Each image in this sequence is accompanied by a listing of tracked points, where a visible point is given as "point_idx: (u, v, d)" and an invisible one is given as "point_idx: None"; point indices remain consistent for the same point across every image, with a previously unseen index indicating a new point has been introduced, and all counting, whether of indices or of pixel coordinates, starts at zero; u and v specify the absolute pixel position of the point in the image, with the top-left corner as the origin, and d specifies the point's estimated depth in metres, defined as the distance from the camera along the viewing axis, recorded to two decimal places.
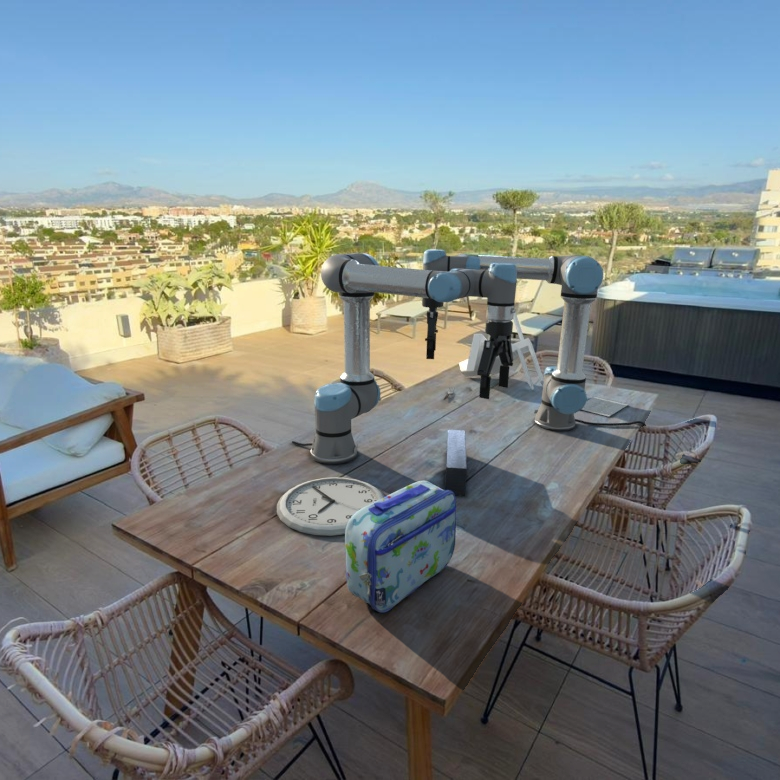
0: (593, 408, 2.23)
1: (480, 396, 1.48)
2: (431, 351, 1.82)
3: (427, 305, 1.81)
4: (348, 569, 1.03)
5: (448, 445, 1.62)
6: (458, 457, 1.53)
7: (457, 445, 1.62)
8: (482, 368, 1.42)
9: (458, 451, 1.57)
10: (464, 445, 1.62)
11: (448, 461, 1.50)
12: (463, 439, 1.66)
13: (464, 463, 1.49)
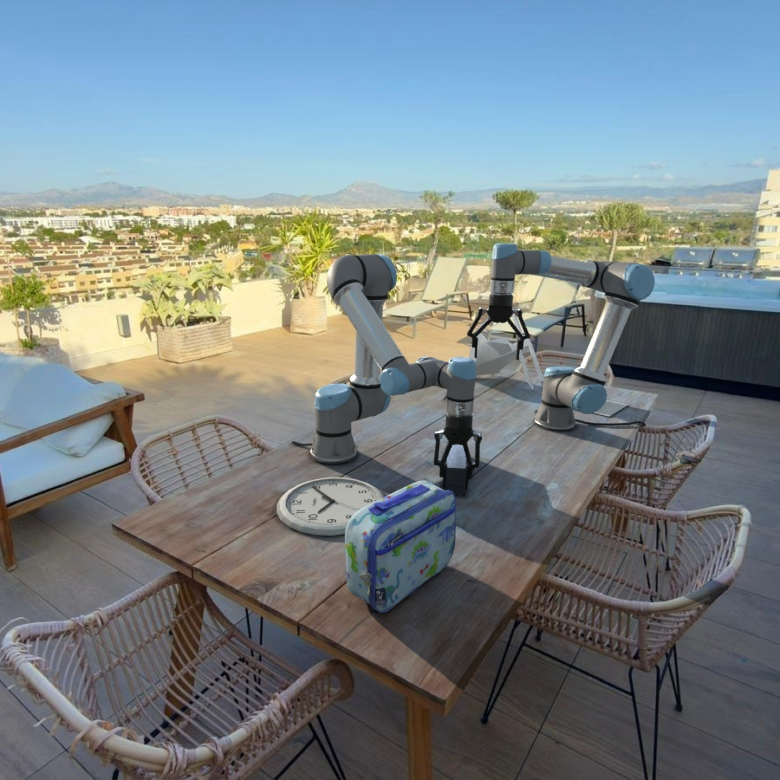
0: None
1: None
2: None
3: (511, 304, 1.66)
4: (348, 569, 1.03)
5: None
6: (458, 457, 1.53)
7: (457, 445, 1.62)
8: None
9: (458, 451, 1.57)
10: None
11: (448, 461, 1.50)
12: None
13: (464, 463, 1.49)
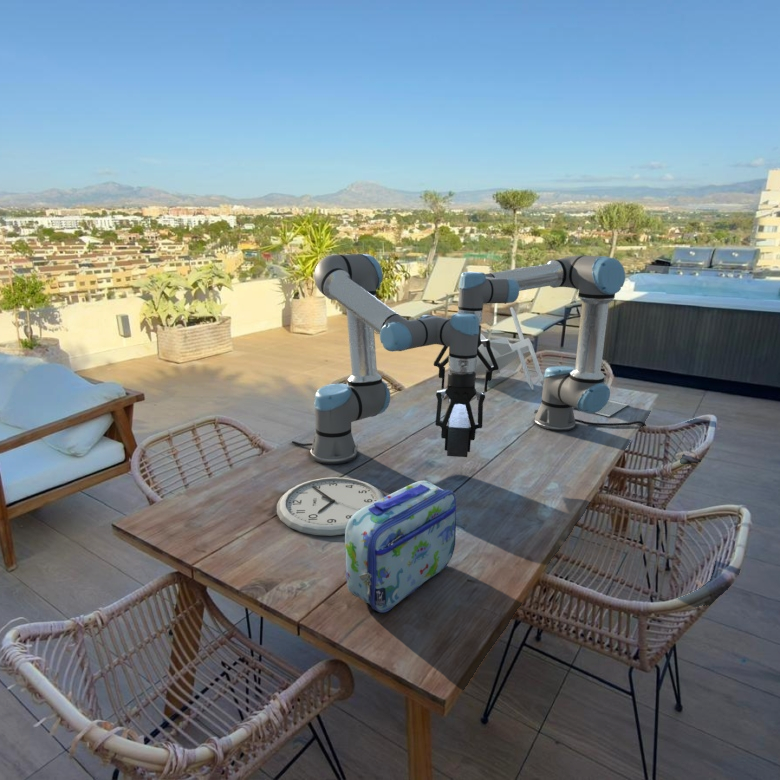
0: None
1: None
2: None
3: (479, 334, 1.60)
4: (348, 569, 1.03)
5: None
6: (460, 418, 1.50)
7: (460, 408, 1.58)
8: None
9: (461, 413, 1.53)
10: None
11: (450, 422, 1.47)
12: None
13: (467, 423, 1.46)
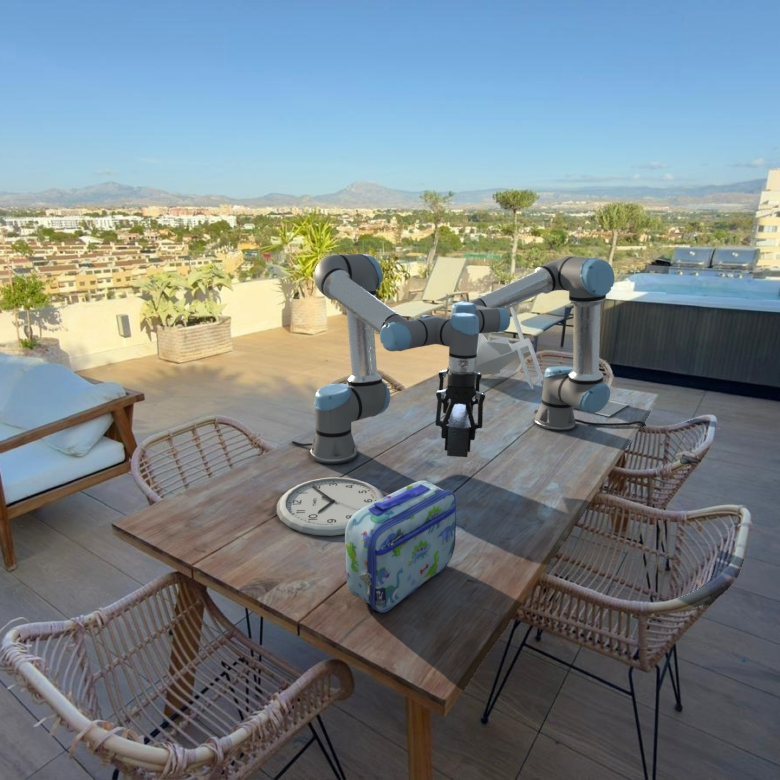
0: None
1: None
2: None
3: None
4: (348, 569, 1.03)
5: None
6: (460, 418, 1.50)
7: (460, 408, 1.58)
8: None
9: (461, 413, 1.53)
10: None
11: (450, 421, 1.47)
12: None
13: (467, 423, 1.46)
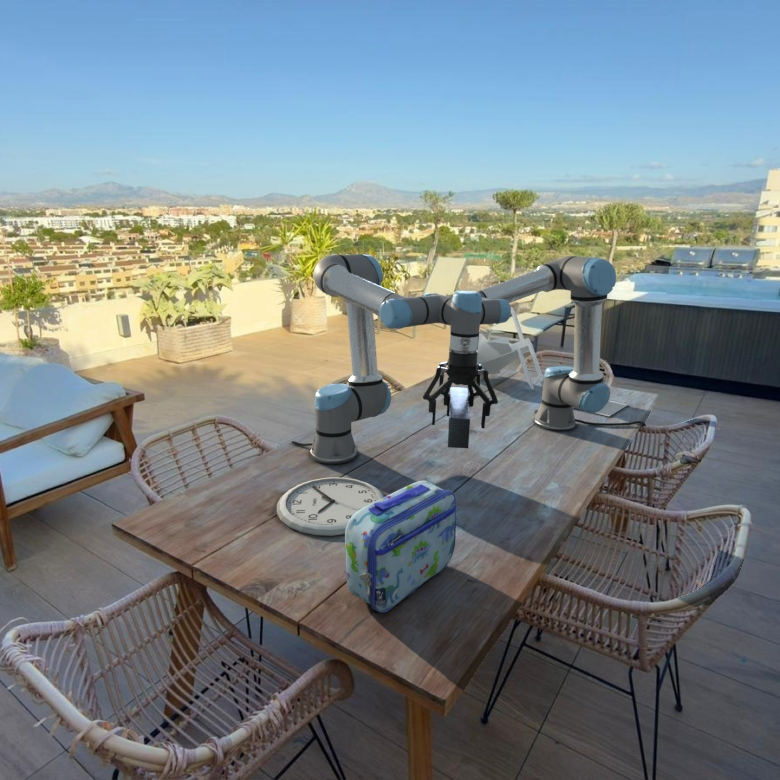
0: None
1: None
2: None
3: None
4: (348, 569, 1.03)
5: (451, 400, 1.57)
6: (461, 409, 1.49)
7: (460, 400, 1.57)
8: (425, 391, 1.43)
9: (461, 405, 1.53)
10: (467, 400, 1.57)
11: (451, 413, 1.46)
12: (466, 395, 1.62)
13: (467, 414, 1.45)
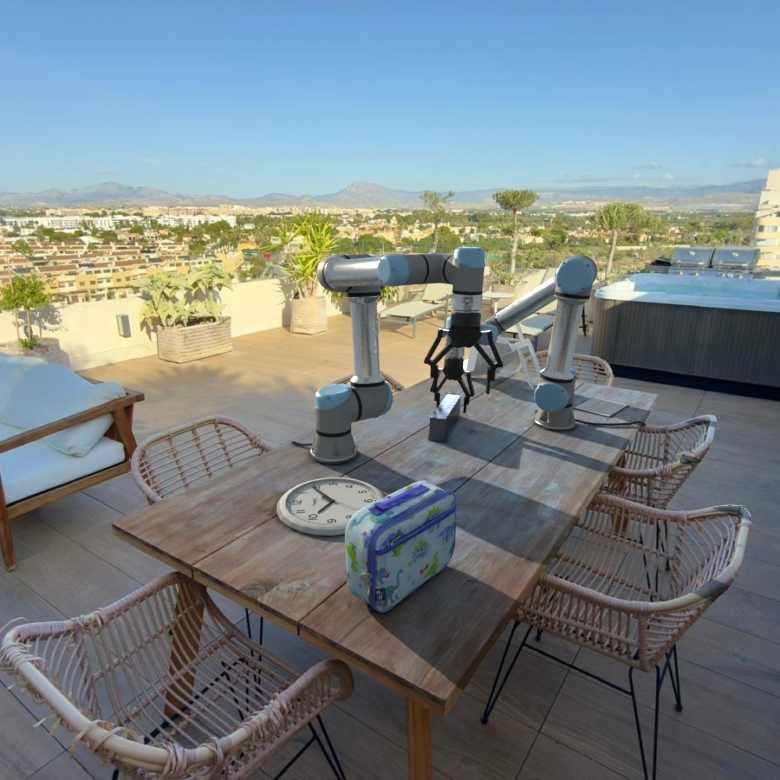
0: (593, 408, 2.23)
1: None
2: (466, 405, 2.06)
3: (461, 366, 2.00)
4: (348, 569, 1.03)
5: (440, 404, 1.99)
6: (443, 412, 1.91)
7: (448, 404, 1.99)
8: (426, 355, 1.36)
9: (446, 408, 1.94)
10: (453, 404, 1.99)
11: (433, 413, 1.89)
12: (455, 401, 2.03)
13: (445, 416, 1.87)
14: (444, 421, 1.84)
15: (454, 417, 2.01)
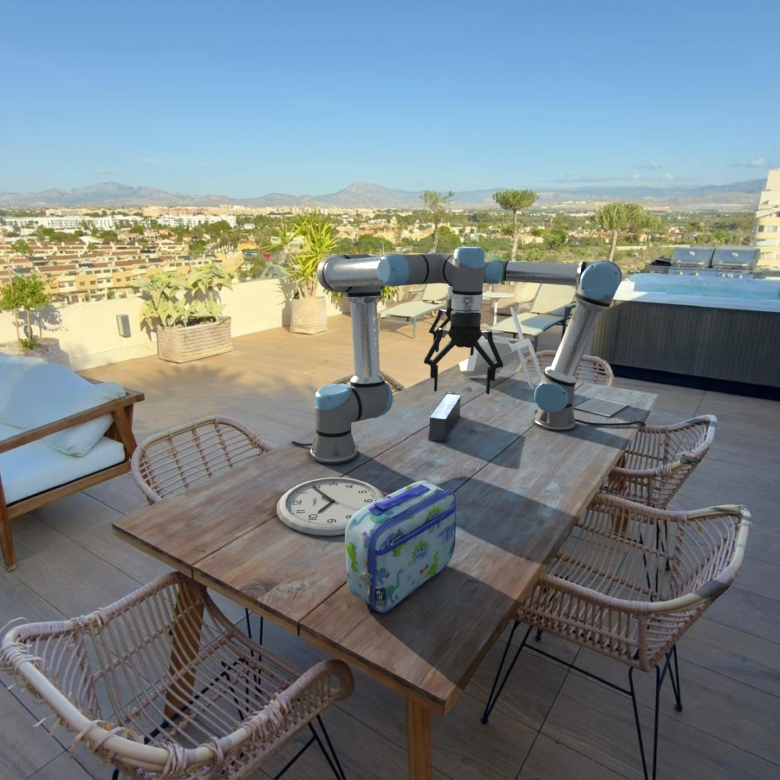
0: (593, 408, 2.23)
1: None
2: (473, 347, 1.99)
3: None
4: (348, 569, 1.03)
5: (440, 404, 1.99)
6: (443, 412, 1.91)
7: (448, 404, 1.99)
8: (426, 355, 1.36)
9: (446, 408, 1.94)
10: (453, 404, 1.99)
11: (433, 413, 1.89)
12: (455, 401, 2.03)
13: (445, 416, 1.87)
14: (444, 421, 1.84)
15: (454, 417, 2.01)
